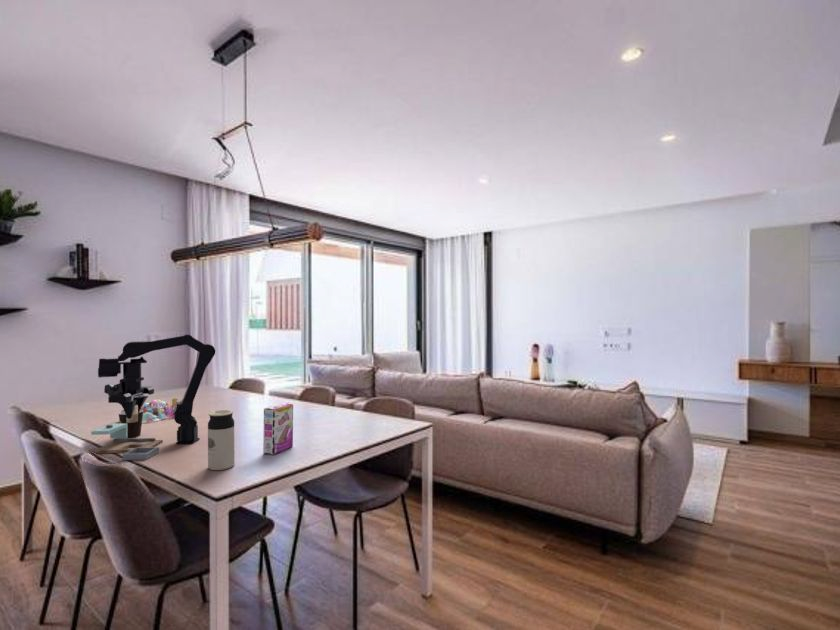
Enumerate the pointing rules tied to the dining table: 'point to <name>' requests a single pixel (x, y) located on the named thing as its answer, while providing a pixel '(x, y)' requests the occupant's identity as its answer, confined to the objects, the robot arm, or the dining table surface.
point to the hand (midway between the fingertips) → (132, 417)
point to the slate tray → (140, 453)
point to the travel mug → (221, 440)
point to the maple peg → (134, 415)
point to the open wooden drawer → (127, 444)
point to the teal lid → (113, 430)
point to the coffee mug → (132, 424)
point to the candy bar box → (278, 428)
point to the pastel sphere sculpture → (158, 410)
